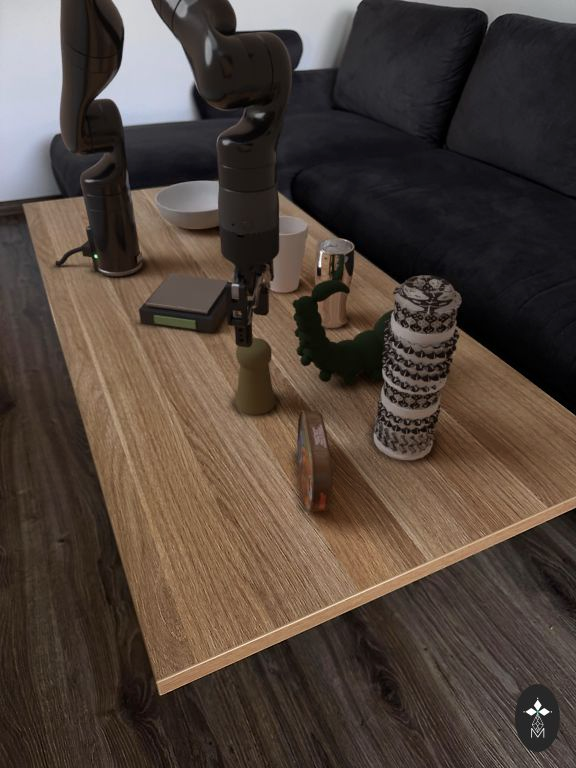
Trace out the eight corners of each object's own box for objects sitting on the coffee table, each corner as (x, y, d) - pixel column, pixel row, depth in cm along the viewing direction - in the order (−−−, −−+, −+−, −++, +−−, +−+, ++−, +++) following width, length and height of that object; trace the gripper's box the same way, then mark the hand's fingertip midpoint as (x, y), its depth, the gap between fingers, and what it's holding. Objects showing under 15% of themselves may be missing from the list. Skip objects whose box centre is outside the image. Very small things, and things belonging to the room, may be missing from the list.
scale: (140, 324, 109) (137, 310, 108) (170, 288, 121) (168, 274, 119) (211, 334, 107) (210, 320, 105) (235, 296, 118) (235, 283, 116)
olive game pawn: (281, 396, 93) (281, 337, 86) (264, 419, 89) (262, 359, 82) (247, 386, 95) (244, 328, 88) (228, 408, 91) (224, 348, 84)
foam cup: (270, 300, 117) (269, 238, 109) (253, 279, 124) (251, 220, 116) (313, 290, 120) (316, 230, 112) (294, 271, 127) (295, 212, 119)
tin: (295, 442, 85) (296, 397, 79) (317, 441, 85) (319, 396, 80) (307, 526, 73) (309, 479, 68) (332, 525, 73) (336, 477, 68)
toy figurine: (307, 406, 94) (456, 377, 96) (299, 303, 82) (469, 273, 84) (295, 371, 101) (434, 345, 104) (285, 272, 89) (443, 245, 92)
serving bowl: (172, 204, 157) (169, 178, 153) (249, 209, 155) (248, 182, 151) (146, 236, 141) (142, 207, 137) (232, 241, 139) (231, 213, 134)
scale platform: (145, 306, 108) (145, 302, 108) (171, 276, 118) (170, 273, 117) (207, 314, 106) (207, 311, 106) (228, 284, 115) (228, 280, 115)
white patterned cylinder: (399, 471, 80) (427, 312, 65) (358, 432, 86) (374, 278, 71) (448, 447, 84) (486, 291, 69) (405, 411, 90) (431, 261, 75)
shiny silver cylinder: (346, 331, 108) (353, 256, 99) (309, 327, 109) (312, 252, 100) (351, 312, 113) (357, 239, 104) (315, 308, 115) (318, 235, 105)
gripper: (237, 196, 80) (242, 301, 90) (200, 238, 69) (210, 353, 79) (291, 201, 78) (290, 307, 88) (262, 245, 67) (265, 361, 77)
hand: (253, 329), depth 83 cm, fingers open, 8 cm apart
